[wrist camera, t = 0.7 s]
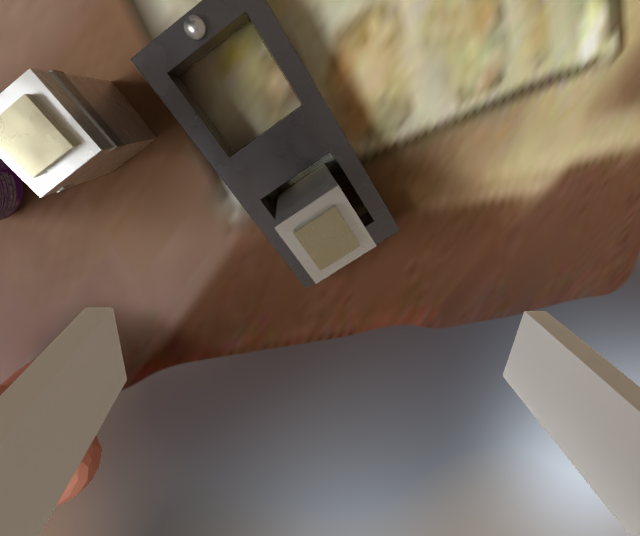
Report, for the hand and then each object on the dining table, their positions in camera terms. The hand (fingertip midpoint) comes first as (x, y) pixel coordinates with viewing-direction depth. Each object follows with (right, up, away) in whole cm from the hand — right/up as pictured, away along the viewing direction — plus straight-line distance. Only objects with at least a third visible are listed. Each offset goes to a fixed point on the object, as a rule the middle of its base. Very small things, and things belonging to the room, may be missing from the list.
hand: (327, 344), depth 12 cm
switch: (-4, +13, +20) cm, 24 cm away
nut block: (-17, +14, +18) cm, 29 cm away
